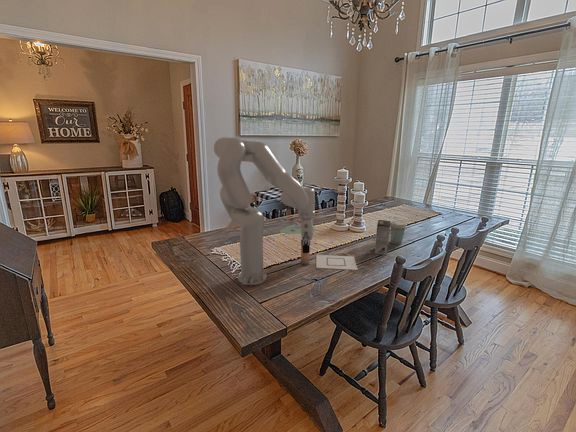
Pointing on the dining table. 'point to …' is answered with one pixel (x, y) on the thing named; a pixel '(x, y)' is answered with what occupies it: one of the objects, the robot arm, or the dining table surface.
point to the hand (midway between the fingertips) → (306, 248)
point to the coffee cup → (397, 232)
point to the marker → (304, 255)
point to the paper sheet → (336, 262)
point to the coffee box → (382, 237)
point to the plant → (294, 229)
